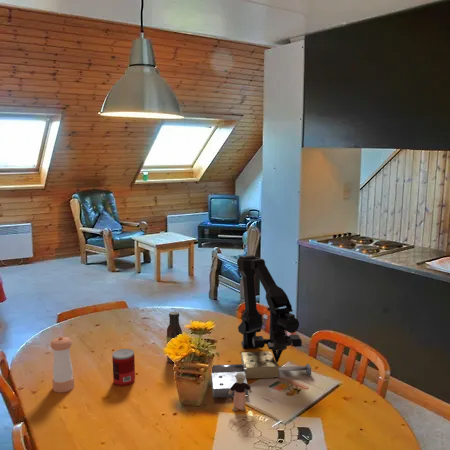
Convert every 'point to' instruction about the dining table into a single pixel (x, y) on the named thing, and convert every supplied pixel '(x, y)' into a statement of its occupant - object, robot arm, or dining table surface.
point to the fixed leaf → (226, 377)
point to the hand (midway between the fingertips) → (276, 361)
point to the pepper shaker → (62, 365)
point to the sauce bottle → (173, 328)
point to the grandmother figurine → (239, 392)
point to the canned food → (123, 367)
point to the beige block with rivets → (259, 365)
